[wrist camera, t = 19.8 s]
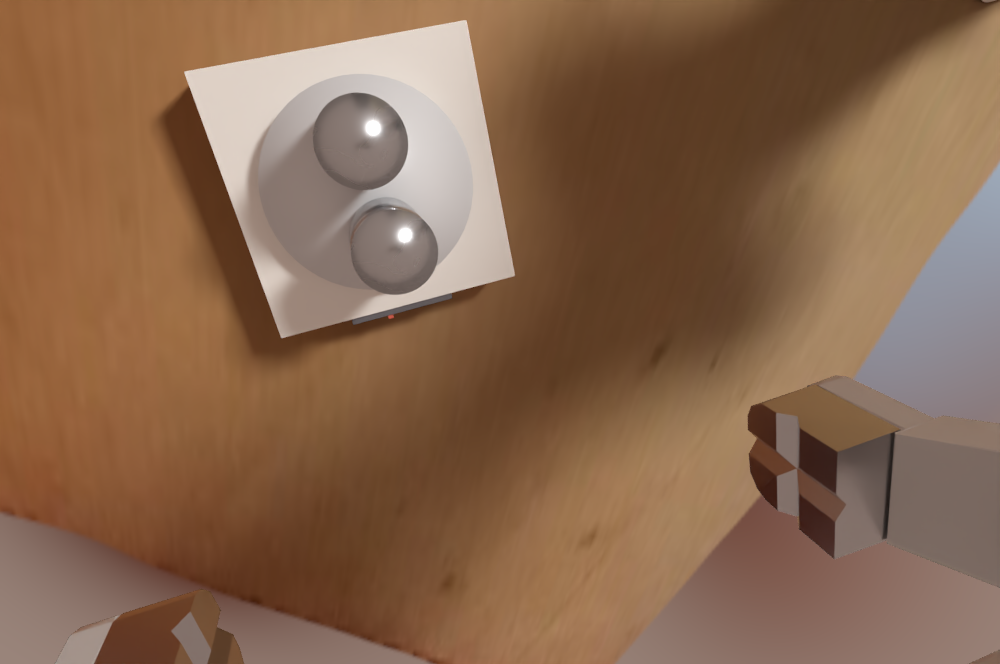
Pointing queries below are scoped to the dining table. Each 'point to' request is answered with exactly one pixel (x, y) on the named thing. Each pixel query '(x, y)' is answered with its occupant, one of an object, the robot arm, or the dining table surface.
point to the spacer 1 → (360, 141)
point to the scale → (331, 206)
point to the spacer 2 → (392, 246)
